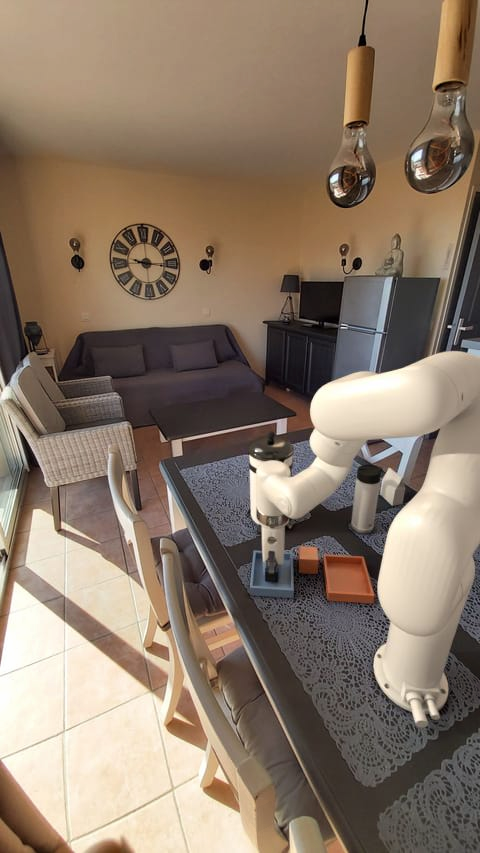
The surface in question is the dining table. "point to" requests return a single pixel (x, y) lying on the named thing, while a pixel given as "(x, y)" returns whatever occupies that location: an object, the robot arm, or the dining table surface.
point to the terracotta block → (308, 560)
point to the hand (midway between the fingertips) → (271, 572)
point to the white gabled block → (392, 488)
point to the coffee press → (266, 451)
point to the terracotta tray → (347, 579)
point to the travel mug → (366, 498)
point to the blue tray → (272, 588)
